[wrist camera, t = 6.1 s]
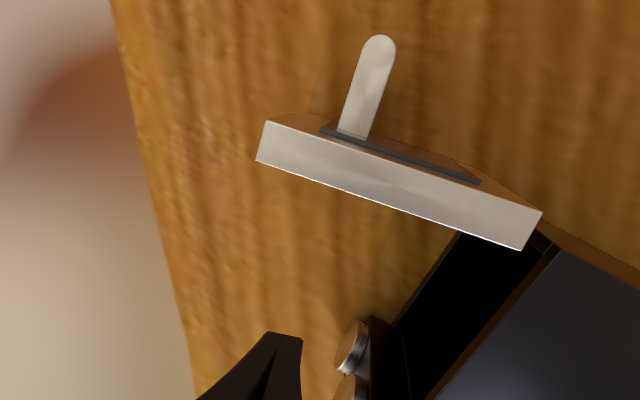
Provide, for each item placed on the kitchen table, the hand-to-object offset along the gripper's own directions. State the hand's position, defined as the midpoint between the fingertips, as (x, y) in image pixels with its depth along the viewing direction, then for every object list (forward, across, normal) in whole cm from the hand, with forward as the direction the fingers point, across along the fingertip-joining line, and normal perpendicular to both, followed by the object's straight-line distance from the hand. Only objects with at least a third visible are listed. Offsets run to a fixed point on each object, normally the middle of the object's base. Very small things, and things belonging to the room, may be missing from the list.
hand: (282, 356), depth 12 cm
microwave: (+10, -10, +3) cm, 14 cm away
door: (+10, -3, -9) cm, 13 cm away
